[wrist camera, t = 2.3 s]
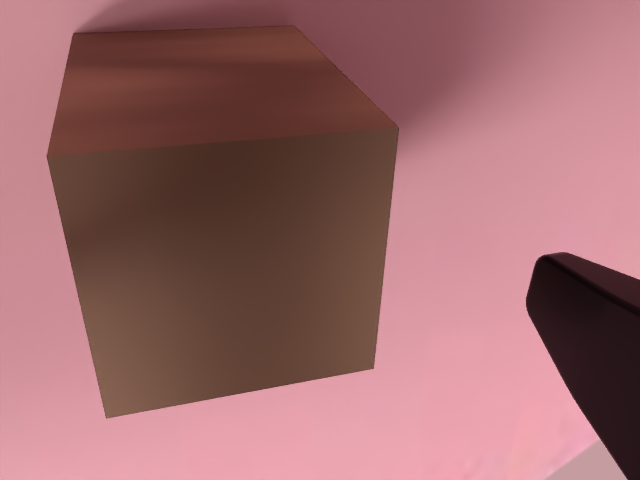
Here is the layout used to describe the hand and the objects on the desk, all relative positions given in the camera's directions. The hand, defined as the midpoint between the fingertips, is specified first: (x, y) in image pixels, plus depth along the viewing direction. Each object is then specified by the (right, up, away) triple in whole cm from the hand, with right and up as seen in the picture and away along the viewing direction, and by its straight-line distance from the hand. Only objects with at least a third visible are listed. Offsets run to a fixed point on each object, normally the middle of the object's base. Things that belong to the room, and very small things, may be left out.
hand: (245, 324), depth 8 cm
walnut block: (-2, +4, +6) cm, 7 cm away
